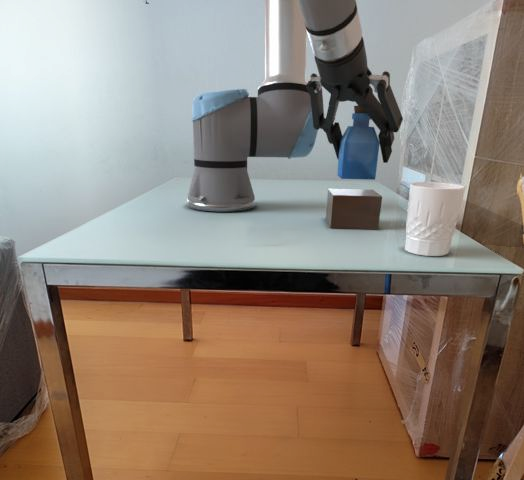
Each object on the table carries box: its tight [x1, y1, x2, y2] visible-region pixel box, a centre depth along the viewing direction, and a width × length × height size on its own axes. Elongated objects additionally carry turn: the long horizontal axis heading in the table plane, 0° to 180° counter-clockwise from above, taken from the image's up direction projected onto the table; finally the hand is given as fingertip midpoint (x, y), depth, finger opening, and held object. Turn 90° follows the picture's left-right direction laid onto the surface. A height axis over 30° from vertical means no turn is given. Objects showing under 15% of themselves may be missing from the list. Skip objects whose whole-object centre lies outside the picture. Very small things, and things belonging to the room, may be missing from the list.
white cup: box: [404, 181, 466, 257], centre depth 73 cm, size 8×8×10 cm
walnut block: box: [325, 188, 383, 230], centre depth 92 cm, size 9×9×6 cm
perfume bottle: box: [336, 105, 380, 181], centre depth 87 cm, size 6×6×12 cm
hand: (364, 155), depth 91 cm, fingers closed on perfume bottle, 8 cm apart
